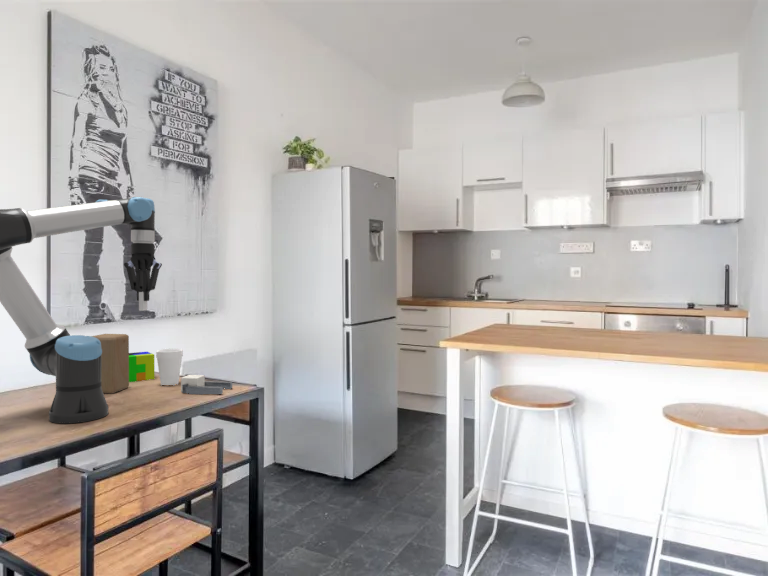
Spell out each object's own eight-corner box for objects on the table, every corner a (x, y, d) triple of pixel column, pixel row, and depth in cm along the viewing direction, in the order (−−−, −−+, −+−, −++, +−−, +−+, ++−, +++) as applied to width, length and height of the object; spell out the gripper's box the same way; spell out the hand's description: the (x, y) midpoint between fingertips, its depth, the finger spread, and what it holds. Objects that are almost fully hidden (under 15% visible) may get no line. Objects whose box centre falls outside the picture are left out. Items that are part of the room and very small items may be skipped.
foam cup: (159, 387, 192) (159, 353, 192) (153, 383, 200) (153, 349, 199) (185, 384, 198) (185, 350, 197) (179, 380, 205) (179, 347, 205)
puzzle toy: (147, 375, 215) (147, 351, 215) (154, 379, 208) (154, 354, 207) (120, 378, 209) (120, 353, 209) (127, 382, 201) (127, 357, 201)
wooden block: (130, 387, 192) (129, 333, 191) (113, 394, 182) (113, 337, 181) (104, 387, 193) (104, 333, 192) (86, 393, 183) (86, 336, 182)
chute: (220, 395, 182) (220, 386, 182) (182, 393, 183) (182, 384, 183) (232, 388, 192) (232, 380, 192) (196, 387, 194) (196, 378, 193)
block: (197, 392, 185) (197, 378, 185) (181, 391, 186) (181, 378, 185) (204, 388, 191) (204, 375, 191) (189, 388, 192) (189, 374, 191)
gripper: (166, 243, 184) (166, 309, 185) (131, 243, 186) (131, 309, 186) (154, 242, 177) (154, 311, 178) (118, 242, 178) (119, 310, 179)
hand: (143, 310), depth 182 cm, fingers closed
